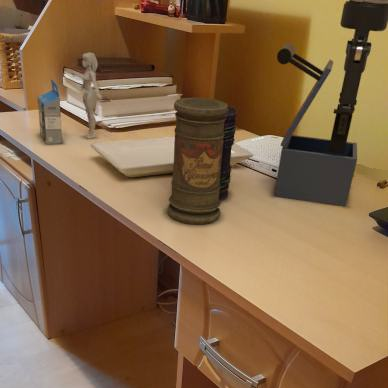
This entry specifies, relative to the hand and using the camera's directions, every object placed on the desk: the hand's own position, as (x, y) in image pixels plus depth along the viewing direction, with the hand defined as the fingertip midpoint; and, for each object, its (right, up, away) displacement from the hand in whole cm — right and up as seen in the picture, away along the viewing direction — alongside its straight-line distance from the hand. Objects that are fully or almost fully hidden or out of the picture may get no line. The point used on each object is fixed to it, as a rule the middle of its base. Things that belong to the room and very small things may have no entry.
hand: (337, 146), depth 97 cm
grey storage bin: (-4, -7, +6) cm, 10 cm away
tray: (-32, +2, +15) cm, 35 cm away
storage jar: (-25, -9, +1) cm, 27 cm away
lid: (-6, +7, -3) cm, 9 cm away
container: (-27, -15, -8) cm, 32 cm away
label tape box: (-61, +11, +25) cm, 66 cm away
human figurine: (-52, +13, +28) cm, 60 cm away
